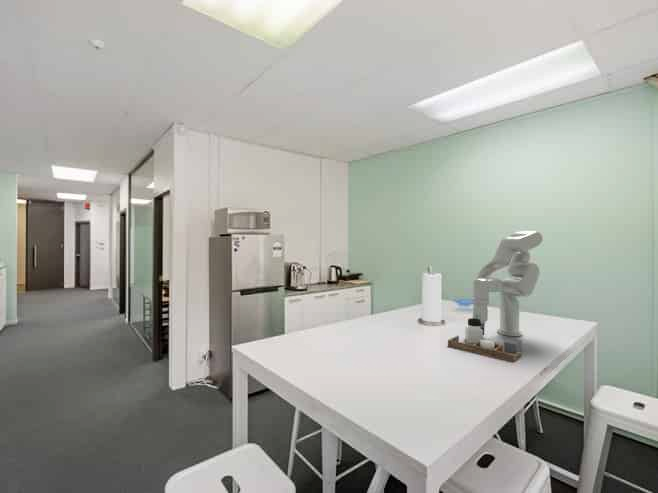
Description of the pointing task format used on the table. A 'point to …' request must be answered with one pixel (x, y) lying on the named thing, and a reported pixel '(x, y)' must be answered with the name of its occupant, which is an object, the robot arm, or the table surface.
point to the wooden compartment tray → (484, 349)
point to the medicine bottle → (473, 331)
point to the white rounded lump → (487, 344)
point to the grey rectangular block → (512, 346)
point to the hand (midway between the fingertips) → (480, 334)
